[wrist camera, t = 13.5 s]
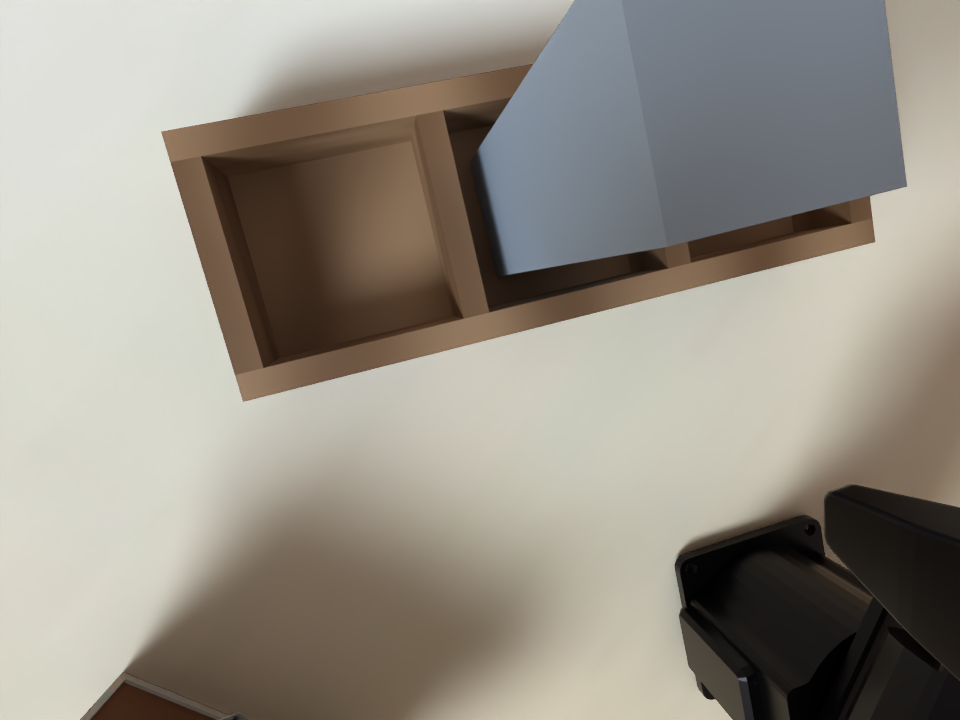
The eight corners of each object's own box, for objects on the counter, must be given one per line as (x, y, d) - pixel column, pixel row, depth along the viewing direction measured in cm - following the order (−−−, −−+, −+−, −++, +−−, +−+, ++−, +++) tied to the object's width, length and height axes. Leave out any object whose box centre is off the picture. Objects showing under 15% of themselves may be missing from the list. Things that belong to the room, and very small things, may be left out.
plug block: (578, 138, 20) (872, -99, 8) (601, 250, 20) (907, 186, 8) (469, 161, 19) (610, -56, 7) (496, 276, 20) (667, 246, 8)
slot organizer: (771, 53, 21) (846, 7, 18) (800, 250, 22) (875, 241, 19) (202, 162, 18) (161, 131, 15) (267, 383, 20) (243, 401, 16)
